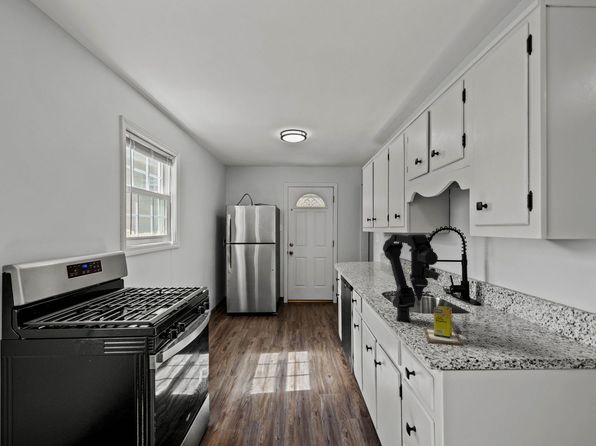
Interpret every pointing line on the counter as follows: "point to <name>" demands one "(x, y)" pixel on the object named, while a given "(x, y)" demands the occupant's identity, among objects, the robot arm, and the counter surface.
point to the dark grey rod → (456, 328)
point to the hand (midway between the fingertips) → (418, 298)
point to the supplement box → (443, 321)
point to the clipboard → (442, 338)
